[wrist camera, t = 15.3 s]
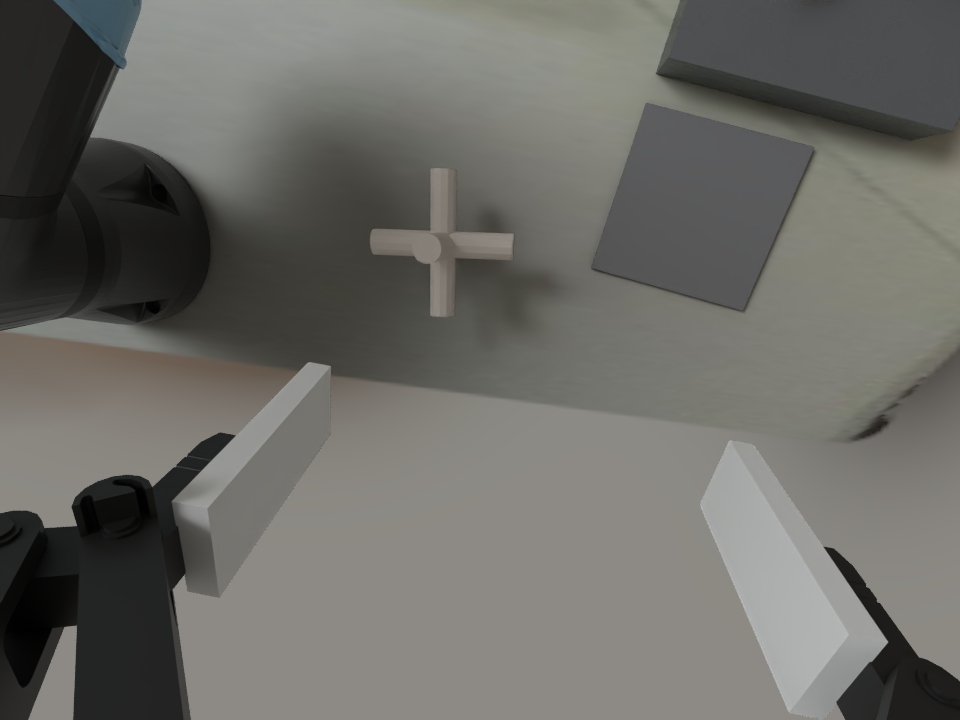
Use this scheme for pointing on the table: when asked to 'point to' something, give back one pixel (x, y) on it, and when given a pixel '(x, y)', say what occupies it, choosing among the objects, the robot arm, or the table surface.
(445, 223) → the pipe connector
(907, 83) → the block with square hole
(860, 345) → the table surface
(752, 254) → the mat
